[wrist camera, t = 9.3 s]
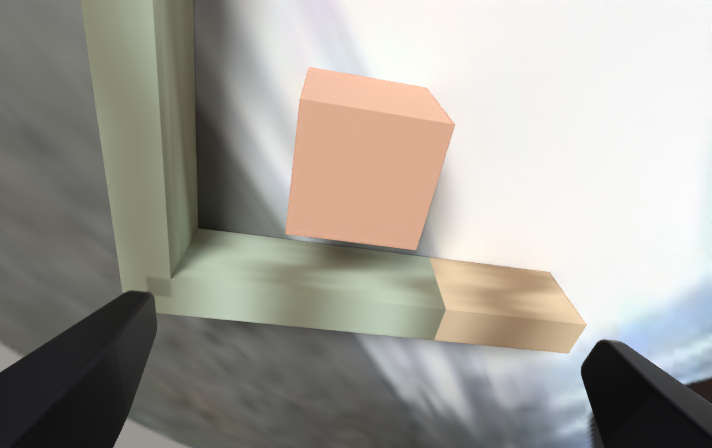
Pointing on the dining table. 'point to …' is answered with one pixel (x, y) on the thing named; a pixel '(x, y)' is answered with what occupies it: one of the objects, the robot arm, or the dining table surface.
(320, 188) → the cube
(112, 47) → the arena
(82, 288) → the dining table surface
